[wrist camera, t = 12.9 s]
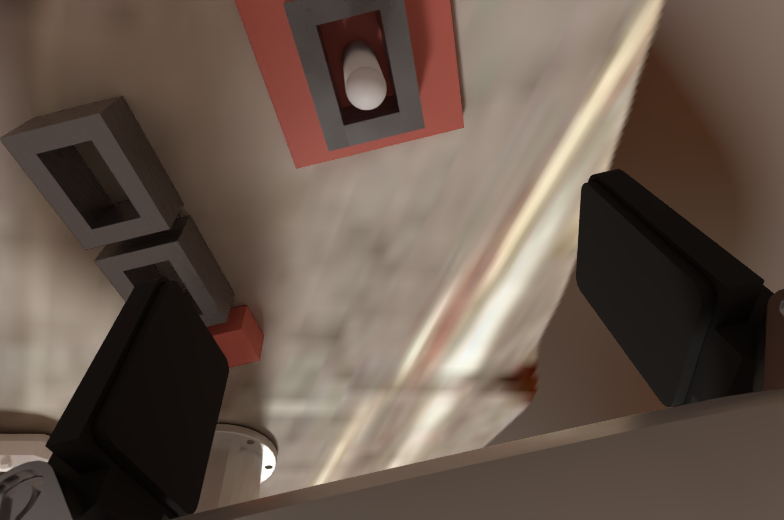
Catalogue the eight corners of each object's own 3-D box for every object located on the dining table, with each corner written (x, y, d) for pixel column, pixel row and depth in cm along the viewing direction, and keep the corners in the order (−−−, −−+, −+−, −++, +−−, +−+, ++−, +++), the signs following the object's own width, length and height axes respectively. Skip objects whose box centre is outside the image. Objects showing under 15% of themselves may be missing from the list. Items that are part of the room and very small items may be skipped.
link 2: (234, 293, 38) (226, 322, 35) (167, 309, 38) (154, 339, 35) (190, 215, 33) (177, 241, 30) (113, 234, 33) (94, 261, 31)
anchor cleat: (263, 335, 41) (255, 388, 36) (191, 352, 41) (173, 407, 37) (246, 305, 39) (235, 356, 34) (170, 323, 39) (148, 377, 34)
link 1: (183, 204, 33) (170, 229, 30) (106, 223, 33) (85, 249, 30) (122, 95, 28) (99, 113, 25) (32, 118, 28) (-2, 138, 25)
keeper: (460, 122, 31) (499, 177, 24) (297, 162, 32) (287, 228, 24) (436, -88, 24) (482, -100, 17) (226, -34, 25) (183, -22, 17)
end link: (415, 109, 29) (425, 127, 27) (328, 131, 30) (328, 151, 27) (391, -31, 25) (399, -27, 22) (288, -4, 25) (282, 3, 22)
